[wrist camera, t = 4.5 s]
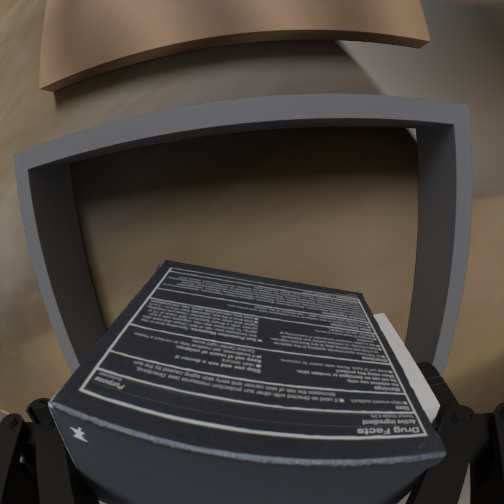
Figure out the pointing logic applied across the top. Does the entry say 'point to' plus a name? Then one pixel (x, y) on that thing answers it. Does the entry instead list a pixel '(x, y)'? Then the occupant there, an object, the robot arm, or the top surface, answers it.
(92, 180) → the top surface
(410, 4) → the walnut board
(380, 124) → the bin
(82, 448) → the small box
